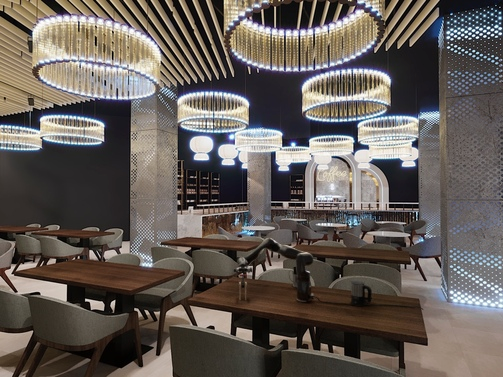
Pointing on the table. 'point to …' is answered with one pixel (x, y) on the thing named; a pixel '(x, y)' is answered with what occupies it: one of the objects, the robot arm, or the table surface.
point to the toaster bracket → (240, 290)
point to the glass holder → (294, 277)
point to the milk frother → (360, 293)
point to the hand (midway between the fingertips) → (243, 271)
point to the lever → (242, 281)
